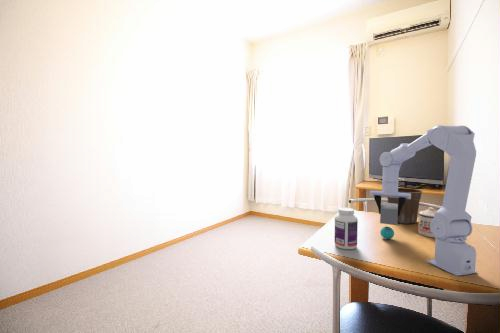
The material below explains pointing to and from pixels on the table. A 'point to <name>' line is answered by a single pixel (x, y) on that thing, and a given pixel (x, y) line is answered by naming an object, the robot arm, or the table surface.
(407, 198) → the robot arm
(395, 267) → the table surface
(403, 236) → the table surface
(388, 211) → the grey block
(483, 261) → the table surface
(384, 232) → the ball
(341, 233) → the pill bottle
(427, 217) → the teacup with lid
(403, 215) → the plant pot
